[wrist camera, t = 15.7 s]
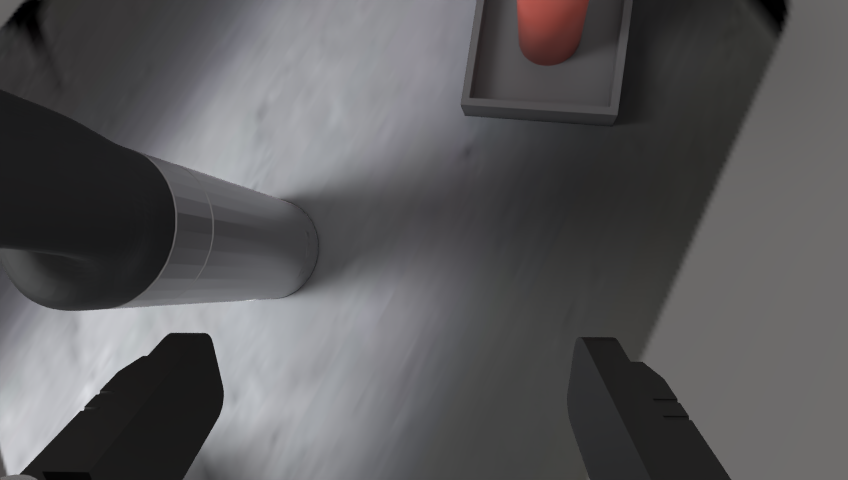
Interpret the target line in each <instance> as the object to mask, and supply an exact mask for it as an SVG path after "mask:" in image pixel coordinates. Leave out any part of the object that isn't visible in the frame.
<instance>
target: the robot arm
mask: <svg viewBox="0 0 848 480" xmlns="http://www.w3.org/2000/svg"><path fill="white" fill-rule="evenodd" d="M317 256H318V240H317V234H316V231H315V228H314V225H313V224H312V222H311V220H310V218H309V217H308V216H307V215H306V214H305V213H304V211H303V210H302V209H300V208H299V207H297V206H296V205H294V204H292V203H289V202H286V201H283V200H280V199H277V198H275V197H272V196H269V195H266V194H263V193H260V192H257V191H254V190H251V189H248V188H245V187H242V186H239V185H236V184H233V183H230V182H227V181H224V180H221V179H219V178H216V177H213V176H210V175H207V174H204V173H201V172H198V171H195V170H192V169H189V168H186V167H183V166H180V165H177V164H173V163H170V162H167V161H164V160H161V159H158V158H155V157H152V156H149V155H146V154H143V153H140V152H137V151H134V150H131V149H128V148H125V147H122V146H120V145H117V144H115V143H113V142H112V141H110V140H108V139H106V138H105V137H103V136H101V135H99V134H98V133H96V132H94V131H92V130H91V129H89V128H87V127H85V126H84V125H82V124H80V123H78V122H76V121H74V120H73V119H71V118H69V117H67V116H64V115H62V114H60V113H58V112H55V111H53V110H51V109H48V108H46V107H43V106H41V105H38V104H36V103H33V102H31V101H28V100H25V99H23V98H20V97H18V96H15V95H13V94H10V93H8V92H6V91H3V90H1V89H0V260H1V263H2V265H3V267H4V270H5V272H6V274H7V275H8V277H9V279H10V280H11V282H12V283H13V284H14V286H15V287H16V288H17V289H18V290H19V291H20V292H21V293H22V294H23V295H24V296H26V297H27V298H28V299H30V300H31V301H33V302H35V303H37V304H39V305H42V306H45V307H48V308H52V309H57V310H66V311H81V310H99V309H116V308H133V307H149V306H162V305H179V304H196V303H213V302H230V301H249V300H265V299H278V298H282V297H285V296H288V295H290V294H292V293H293V292H295V291H297V290H298V289H299V288H300V287H301V286H302V285H304V283H305V282H306V281H307V279H308V278H309V277H310V275H311V273H312V271H313V269H314V267H315V263H316V260H317ZM223 399H224V390H223V384H222V380H221V376H220V372H219V367H218V363H217V359H216V354H215V350H214V346H213V342H212V339H211V337H210V336H209V335H208V334H206V333H170V334H168V335H167V336H166V337H164V339H163V340H162V341H161V342H160V343H159V344H158V345H157V346H156V347H155V348H154V349H153V351H152V352H151V353H150V354H149V355H148V356H142V357H141V358H139V359H137V360H136V361H134V362H133V363H131V364H130V365H128V366H126V367H125V368H123V369H122V370H120V371H119V372H117V373H116V374H115V376H114V377H113V378H112V379H111V380H110V381H109V382H108V383H107V384H106V385H105V386H104V387H103V388H102V389H101V390H100V394H99V395H95V396H94V397H93V398H92V400H91V401H90V402H89V403H88V404H87V405H86V406H85V409H84V411H80V412H79V413H78V414H77V415H76V416H75V417H74V418H73V419H72V420H71V421H70V422H69V423H68V425H67V426H66V427H65V428H64V429H63V430H62V431H61V432H60V433H59V434H58V435H57V436H56V437H55V438H54V439H53V440H52V441H51V442H50V443H49V444H48V445H47V446H46V447H45V448H44V450H43V451H42V452H41V453H40V454H39V455H38V456H37V457H36V458H35V459H34V460H33V461H32V462H31V463H30V464H29V465H28V466H27V467H26V468H25V469H24V470H23V471H22V472H21V473H20V474H19V475H11V476H5V477H1V478H0V480H183V478H184V476H185V475H186V473H187V471H188V469H189V468H190V466H191V464H192V462H193V461H194V459H195V457H196V456H197V454H198V452H199V450H200V449H201V447H202V445H203V443H204V442H205V440H206V438H207V437H208V435H209V433H210V431H211V430H212V428H213V426H214V424H215V423H216V421H217V419H218V417H219V415H220V413H221V409H222V405H223ZM567 405H568V414H569V419H570V423H571V426H572V429H573V432H574V435H575V438H576V441H577V444H578V446H579V449H580V452H581V455H582V458H583V461H584V464H585V467H586V469H587V472H588V475H589V478H590V480H731V479H730V477H729V476H728V474H727V473H726V471H725V470H724V468H723V467H722V465H721V464H720V462H719V461H718V459H717V458H716V456H715V455H714V453H713V452H712V450H711V449H710V447H709V446H708V445H707V443H706V441H705V440H704V438H703V437H702V435H701V434H700V432H699V431H698V429H697V428H696V426H695V425H694V423H693V422H692V421H691V420H689V416H688V414H687V413H686V411H685V410H684V408H683V407H682V405H681V404H680V403H678V402H677V398H676V396H675V395H674V393H673V392H672V390H671V389H670V387H669V386H668V384H667V383H666V381H665V380H664V379H663V378H662V377H661V376H660V375H658V374H657V373H656V372H655V371H653V370H652V369H651V368H650V367H648V366H647V365H646V364H645V363H643V362H630V360H629V359H628V357H627V355H626V354H625V352H624V350H623V348H622V347H621V345H620V343H619V342H618V340H617V339H616V338H611V337H579V338H577V340H576V342H575V346H574V353H573V360H572V367H571V373H570V380H569V387H568V394H567Z"/></svg>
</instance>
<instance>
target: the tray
mask: <svg viewBox="0 0 848 480" xmlns="http://www.w3.org/2000/svg"><path fill="white" fill-rule="evenodd" d="M632 4H633V0H589V3H588V8H587V12H586V17H585V22H584V27H583V31H582V36H581V41H580V44H579V46H578V48H577V50H576V51H575V52H574V54H573V55H572V56H571V57H570V58H568V59H567V60H565V61H564V62H562V63H559V64H556V65H552V66H542V65H538V64H535V63H533V62H531V61H529V60H528V59H527V58H526V57H525V56H524V55H523V53H522V51H521V49H520V46H519V38H518V17H517V0H477V2H476V9H475V15H474V22H473V28H472V35H471V41H470V48H469V54H468V61H467V67H466V74H465V80H464V86H463V93H462V99H461V107H462V109H463V112H464V114H465V116H478V117H492V118H505V119H519V120H532V121H546V122H560V123H573V124H587V125H601V126H612V125H613V123H614V121H615V119H616V117H617V115H618V109H619V101H620V94H621V86H622V79H623V71H624V64H625V56H626V49H627V42H628V34H629V27H630V19H631V12H632Z"/></svg>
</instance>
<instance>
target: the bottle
mask: <svg viewBox="0 0 848 480" xmlns="http://www.w3.org/2000/svg"><path fill="white" fill-rule="evenodd" d="M588 3H589V0H517V17H518V38H519V46H520V49H521V51H522V53H523V55H524V56H525V57H526V58H527V59H528V60H529V61H531V62H533V63H535V64H538V65H542V66H552V65H556V64H559V63H562V62H564V61H565V60H567V59H568V58H570V57H571V56H572V55H573V54H574V52H575V51H576V50H577V48H578V46H579V44H580V41H581V36H582V31H583V27H584V22H585V17H586V12H587V8H588Z"/></svg>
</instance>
